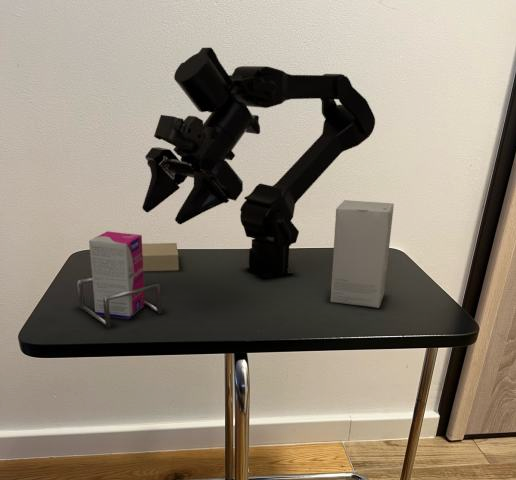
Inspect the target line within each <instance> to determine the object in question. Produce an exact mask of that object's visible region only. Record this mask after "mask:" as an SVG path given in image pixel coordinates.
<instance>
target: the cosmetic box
mask: <svg viewBox="0 0 516 480" xmlns="http://www.w3.org/2000/svg"><path fill="white" fill-rule="evenodd" d="M394 206H395V203H394V202H393V203H390V202H379V201H363V200H362V201H361V200H348V199H344V200H343V201H342V202H341V203H339V205H338V206H337V207H336V208H335V221H334V223H335V224H334V238H333V239H334V241H333V251H332V252H333V255H332V268H331V269H332V270H331V284H330V285H331V286H330V303H337V304H345V305H353V306H361V307H369V308H375V309H376V308H377V309H379V308H380V306H381V304H382V301H383V298H384V296H385V290H386V289H385V288H386V280H387V270H388V263H389V254H390V253H389V252H390V243H391V234H392V226H393V216H394V208H395V207H394Z"/></svg>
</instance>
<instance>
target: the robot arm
mask: <svg viewBox="0 0 516 480" xmlns="http://www.w3.org/2000/svg"><path fill="white" fill-rule="evenodd" d="M173 78H174V81H175V82H176V83H177V85H178V86H179V87H180V89H181V90H182V91H183V92H184V94H185V95H186V96H187V98H188V99H189V100H190V102H191V103H192V105H194V107H195V108H196V109H197V111H198V112H200V113H207V112H208V113H210V114H209V115H208V117H207V118H206V120H205V121H204V120H203V119H201V118H199V117H198V116H195V115H188V116H186V117H185V118H184V119H183V118H182V117H181V118H180V117H177V116H173V115H165V114H160V116H159V119H158V122H157V126H156V129H155V132H154V134H153V137H154V138H155V139H157V140H160V141H161V140H162V141H164V142H166V143H168V144H170V145H171V146H174V148H173V151H172V150H171V149H169V148H163V147H159V146H158V147H155V146H154V147H151V148H150V149H149V151H148V152H147V153H146V155H145V156H144V158H145V160H146V161H147V164H146V165H147V166H148V167H149V170H150V174H151V175H150V176H151V177H150V181H149V185H148V189H147V191H146V195H145V197H144V200H143V204H142V206H141V208H142V210H143V211H144V212H145V213H149V212H151V211H153V210H154V209H156V207H158V206H159V205H161V203H163V202H164V201H166V200H167V199H168V198H169V197H170V196H172V195H173V194H174V193H177V191H178V190H179V189H181V187H180V186H179V185H182V184H183V183H184V182H185V181H186V179H187V178H188V177H189V178H193V186H192V189H191V190H190V192H189V193H188V195H187V197H186V199H185V200H184V202H183V203H182V205H181V207H180V208H179V210H178V212H177V214H176V216H175V218H174V221H175V222H176V223H177V224H178V225H183V224H184V223H186V222H188V221H190V220H192V219H194V218H196V217H197V216H200V215H201V214H203V213H206V211H209V210H212V209H214V208H216V207H218V206H220V205H223V204H228V203H229V202H230V200H231V201H237V200H238V198H239V197H240V195H241V194H242V192H243V191H244V182H243V179H241V178H240V176H239V175H238V174H237V172H236V171H235V170H234V169H233V167H232V166H231V165H230V163H228V161H233V160H234V158H235V157H236V154H235V153H234V152H233V150H234V149H235V147H236V146H237V144H238V143H239V142H240V141H241V139H242V137H243V136H244V135H245V133H247V134H253V135H260V133H261V125H260V122H259V120H260V116H259V115H258V114H252V112H251V111H250V109H249V108H248V107H251V108H259V109H261V108H262V109H269V108H273V107H276V106H278V105H281V104H283V103H285V102H286V101H290V100H310V99H311V100H312V99H314V100H315V99H316V100H317V99H320V101H321V114H322V116H323V118H324V121H323V124H322V125H323V126H322V132H321V134H320V136H319V137H318V138H317V139H316V140H315V141H314V142H313V143H312V144H311V145H310V146H309V147H308V149H307V150H305V151H304V152H303V154H302V155H301V156H300V157H299V158H298V159H297V160H296V161H295V163H294V164H293V165H292V166H291V167H290V168H288V170H287V171H286V172H285V173H284V174H283V175H282V176H281V177H280V178H279V180H278V181H277V182H276V183H275V184H273V185H269V184H265V183H258V184H257V185H256V186H255V187H254V189H253V190H252V191H251V192H250V193H249V194H248V195H246V196H244V197H243V198H244V200H245V201H244V202H243V203H242V205H241V207H240V209H239V211H240V214H239V217H240V218H239V219H240V222H241V225H242V226H243V230H244V233H245V237H247V238H251V247H250V248H249V254H248V266H246V270H247V271H248V272H250V273H251V274H253V275H255V276H257V277H259V278H260V279H261V280H266V279H267V280H268V279H274V278H280V277H285V276H292V275H293V273H294V272H293V270H291V269H289V261H290V247H291V246H292V244H296V243H297V240H298V237H299V233H300V230H299V229H298V228H297V227H296V226H295V224H294V223H293V222H292V220H293V219H294V215H295V208H296V204H297V202H298V201H299V200H300V199H301V198H302V197H303V196H304V194H306V192H308V190H309V189H310V188H311V187H312V186H313V184H315V183H316V181H317V180H318V179H319V178H320V177H321V176H322V174H324V172H326V170H327V169H328V168H329V167H330V166H331V165H332V164H333V163H334V162H335V161H336V160H337V159H338V157H339V156H340V155H341V154H342V153H344V152H346V151H348V150H351V149H353V148H355V147H358V146H359V145H361V144H362V143H363V142H365V141H366V140H367V139H369V137H371V135H372V133H373V132H374V128H375V126H376V117H375V114H374V113H373V110H372V109H371V105H369V103H368V102H369V101H367V99H366V98H365V97H364V96H363V95H362V94H361V93H360V92H359V91H358V90H357V89H356V88H355V87H354V86H353V85H352V83H351V81H350V79H349V77H348V76H346V75H345V74H344V73H343V74H342V73H323V74H290V73H287V72H285V71H284V70H282V69H278V68H274V67H272V66H265V65H264V66H262V65H260V66H259V65H258V66H256V65H255V66H253V65H242V66H237V67H235V68H234V70H233V72H232V74H228V73H227V71H226V70H225V68H224V66H223V64H222V63H221V62H220V60H219V58H218V56H217V53H216V52H215V50H214V48H212V47H201V49H200V50H199V51H198V52H197V53H195V54H192V55H191V56H190V57H189V58H187V59H186V60H185V61H184V62H181V63H180V64H179V66H178V67H177V68H176V70H175V71H174V75H173ZM336 100H338V101H339V103H340V104H337V101H336ZM175 154H176V155H175ZM178 156H179V157H180V159H179V158H178Z"/></svg>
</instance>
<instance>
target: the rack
mask: <svg viewBox="0 0 516 480" xmlns="http://www.w3.org/2000/svg"><path fill="white" fill-rule="evenodd" d="M87 283H88V284H89V283H93V280H92V277H87V278H82V279H78V280H77V281H76V284H77V291H78V292H77V294H78V299H79V308H80V310H82V311H84V312H85V313H87V314H89V315H90V316H91V317H93V318H94V319H96V320H97V321H99V322H100V323H101V324H103V325H104V326H105V328H106V329H107V328H108V329H109V328H111V327H112V323H111V317H110V311H109V301H108V300H111V299H116V298H120V297H124V296H128V295H132V294H137V293H141V292H144V293H145V292H149V291H153V290H155V301H156V302H155V303H156V306H155V305H153V304H152V303H150V302H148V301H146V300H145V306H146V307H147V308H149V309H151V310H153V311H154V312H156V313H157V314H158V315H159V314H160V315H161V314H162V313H163V311H162V309H163V308H162V291H161V285H160V284H158V283H157V284H151V285H148V286H144V288H139V289H135V290H131V291H127V292H122V293H118V294H114V295H109V296H105V297H104V298H103V303H104V313H105V316H104V318H103V317H102V316H98V315H97V314H96V313H95V311H93V310H91V309H90V308H88V307H87V306H86V303H85V297H84V296H85V295H84V287H83V284H87Z"/></svg>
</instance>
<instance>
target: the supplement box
mask: <svg viewBox="0 0 516 480" xmlns="http://www.w3.org/2000/svg"><path fill="white" fill-rule="evenodd" d="M142 238H143V236H142V234H135V233H124V232H118V231H117V232H116V231H109V230H107V231H105V232H103V233H101V234H99V235H97V236H95V237H93V238H91V239H89V240H88V243H89V245H88V247H89V257H90V268H91V278H92V280H93V281H92V292H93V302H94V313H96V314H97V315H98V316H100V317H105V313H104V303H103V298H104V297H105V296H109V295H114V294H118V293H122V292H127V291H131V290H135V289H139V288H144V287H145V280H144V279H145V278H144V271H143V255H142V244H143V239H142ZM108 301H109V311H110V318H114V319H115V318H116V319H122V320H131V319H132V318H133V317H134V315H136V314H137V313H138V312H139V311H140V310H141V309H143V308H144V307H145V306H146V305H145V301H146V299H145V292H141V293H137V294H132V295H128V296H124V297H120V298H116V299H111V300H108Z"/></svg>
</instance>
